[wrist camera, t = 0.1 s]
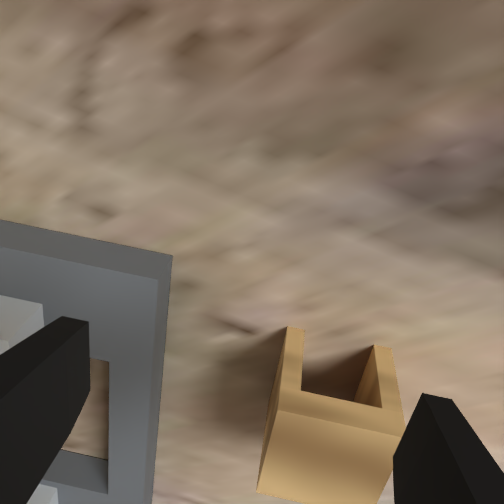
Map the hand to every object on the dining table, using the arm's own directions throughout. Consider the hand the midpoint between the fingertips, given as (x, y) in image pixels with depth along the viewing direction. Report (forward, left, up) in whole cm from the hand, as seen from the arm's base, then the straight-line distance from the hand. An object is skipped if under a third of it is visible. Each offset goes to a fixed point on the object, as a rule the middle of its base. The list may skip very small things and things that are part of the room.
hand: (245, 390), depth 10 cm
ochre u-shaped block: (-8, -4, -10) cm, 13 cm away
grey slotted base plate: (-13, +10, -10) cm, 20 cm away
